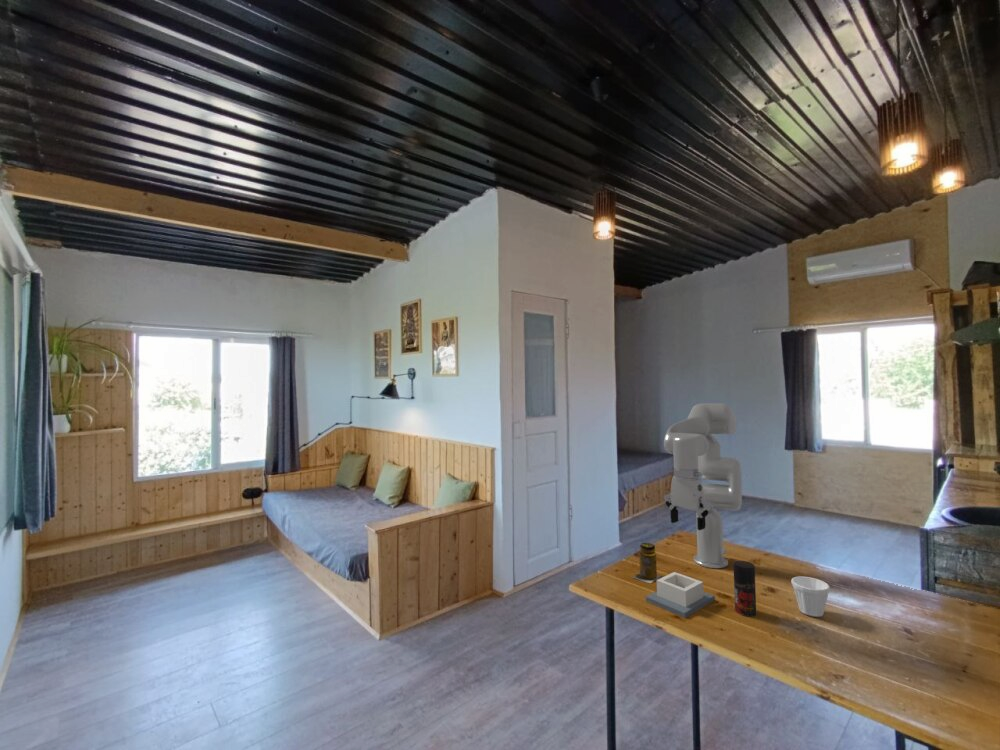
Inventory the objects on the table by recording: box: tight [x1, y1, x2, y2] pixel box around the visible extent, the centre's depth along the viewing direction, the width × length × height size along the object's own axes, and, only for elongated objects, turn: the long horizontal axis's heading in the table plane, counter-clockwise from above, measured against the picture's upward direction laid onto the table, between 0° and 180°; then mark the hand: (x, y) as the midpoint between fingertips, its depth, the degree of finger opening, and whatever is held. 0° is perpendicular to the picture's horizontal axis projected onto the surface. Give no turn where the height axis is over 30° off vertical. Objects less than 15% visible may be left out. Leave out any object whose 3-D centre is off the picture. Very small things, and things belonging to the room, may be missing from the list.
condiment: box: [632, 542, 662, 584], centre depth 170 cm, size 7×8×12 cm
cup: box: [790, 576, 831, 618], centre depth 141 cm, size 10×10×9 cm
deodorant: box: [733, 560, 757, 618], centre depth 143 cm, size 6×6×15 cm
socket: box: [645, 571, 716, 619], centre depth 151 cm, size 18×14×6 cm
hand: (687, 525), depth 149 cm, fingers open, 9 cm apart
